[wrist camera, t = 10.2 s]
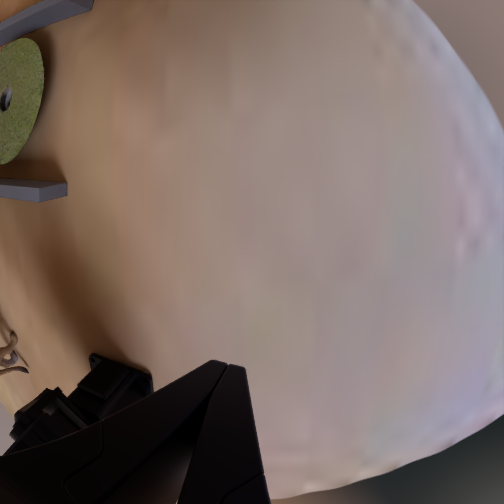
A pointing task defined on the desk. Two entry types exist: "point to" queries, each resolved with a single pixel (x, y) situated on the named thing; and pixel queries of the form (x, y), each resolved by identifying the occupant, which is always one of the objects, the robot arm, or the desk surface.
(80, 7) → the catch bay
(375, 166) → the desk surface
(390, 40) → the desk surface
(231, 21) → the desk surface
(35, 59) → the green speckled disc
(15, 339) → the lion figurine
